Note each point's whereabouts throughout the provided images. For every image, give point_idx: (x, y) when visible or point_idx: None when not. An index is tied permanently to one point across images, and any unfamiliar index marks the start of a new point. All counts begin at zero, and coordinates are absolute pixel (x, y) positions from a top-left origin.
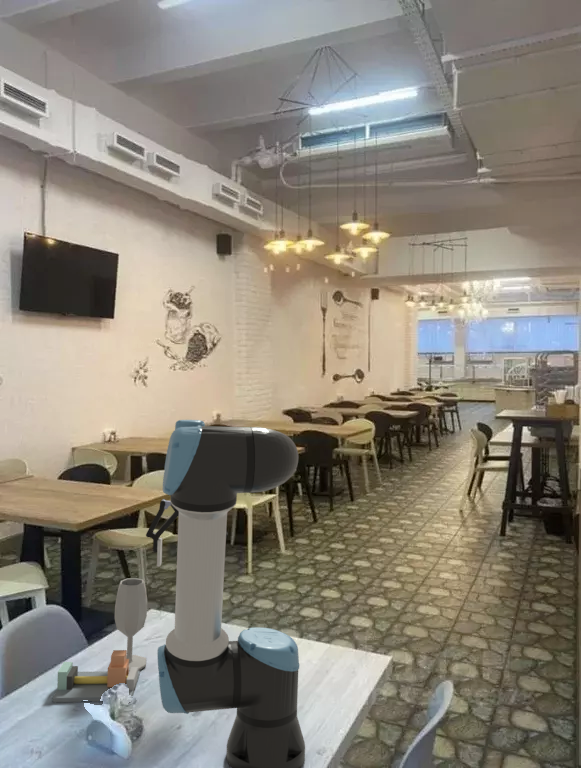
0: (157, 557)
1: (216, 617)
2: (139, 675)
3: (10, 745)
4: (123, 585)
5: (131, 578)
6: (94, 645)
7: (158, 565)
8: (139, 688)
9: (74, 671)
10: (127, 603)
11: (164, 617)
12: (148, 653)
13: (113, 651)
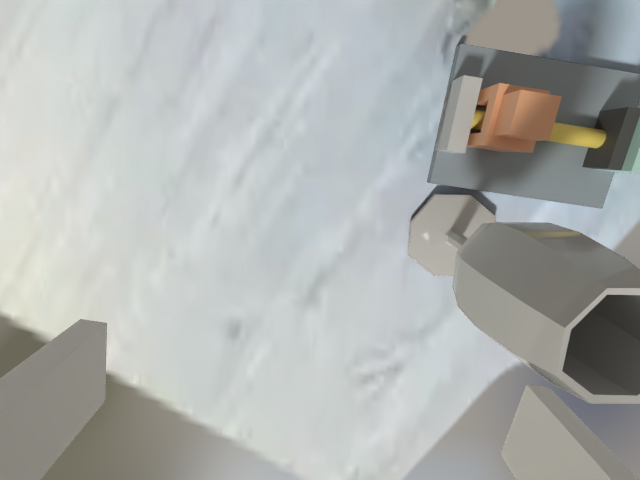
0: (604, 446)
1: None
2: (427, 180)
3: None
4: None
5: (616, 401)
6: None
7: (543, 391)
8: (431, 111)
9: (619, 136)
10: (590, 243)
11: (347, 477)
12: (398, 294)
13: (550, 130)
